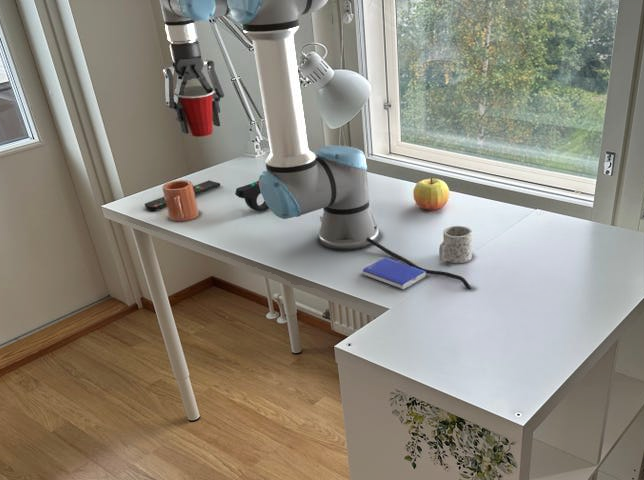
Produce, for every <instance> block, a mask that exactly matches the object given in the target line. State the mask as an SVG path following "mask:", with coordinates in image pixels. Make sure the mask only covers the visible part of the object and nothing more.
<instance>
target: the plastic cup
mask: <svg viewBox="0 0 644 480" xmlns="http://www.w3.org/2000/svg"><path fill="white" fill-rule="evenodd" d="M175 91H176V88H175V89H174V96H177V97H180V99H181V101H182V104H181V108H183V109H184V112H185V116H186V121H187V126H188V130H189V133H190V134H191V136H192V137H198V138H199V137H201V138H202V137H206V136H211V135H212V134H213V131H214V130H213V129H214V127H213V126H214V125H213V115H212V101H213V93H214V92H215V90H214V88H213V87H212V92H211V93H209V94H208V93H207V92H206V91H205V89H204V88H203V86H202V85H201V84H200V85H198V84H197V85H185V89H184V94H183V96H182V95H178V94H176V93H175Z"/></svg>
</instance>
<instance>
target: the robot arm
mask: <svg viewBox="0 0 644 480" xmlns="http://www.w3.org/2000/svg"><path fill="white" fill-rule="evenodd" d="M328 1H329V0H159V4H160V8H161V13H162V18H163V22H164V26H165V27H164V28H165V32H166V37H167V41H169V42H170V43H169V49H170V56H171V59H172V65H171V66H169V67H165V66H164V67H162V73H163V76H164V91H165V92H164V93H165V106H166V107H167V108H170V109H173V111H174V115H175V116H174V117H175V119H176V121H177V122H179V123H180V128H181V132H182V133H183V134H186V135H187V134H190V130H189V127H188V124H187V121H186V116H185V112H184V109H183V108H181V104H182V101H181V99H180V97H177V96H175V95H174V90H175V89H176V91H175V93H176V94H178V95H182V96H183V94H184V89H185V86H187V84H188V81H190V80H192V79H193V80H197V81H198V82H199V83H200V86H203V88H204V89H205V91H206V92H207V93H208V94H209V93H211V92H212V88H214V93H213V101H212V115H213V121H212V126H215V127H221V122H220V121H221V120H220V116H219V114H220V113H221V107H220V102H221V99H222V98H223V99H224V97H225V92H224V91H223V88H222V85H221V82H220V79H219V77H218V75H217V72H216V70H215V62H214V60H210V59H206V60H203V58H202V52H201V47H200V42H199V41H198V40H197V39H198V38H199V37H198V32H197V31H198V30H197V26H196V22H204V21H208V20H209V19H211V18H217V17H224V16H231V17H232V18H233V20H234V21H235V22H236V23H238V24H241V25H242V30H243V33H244V34H246V36H248V37H249V38H250V39H251V41H252V48H253V53H254V59H255V65H256V66H255V67H256V72H257V77H258V78H257V79H258V84H259V90H260V95H261V102H262V108H263V114H264V115H263V116H264V122H265V128H266V133H267V139H268V146H269V152H270V153H268V155H267V157H266V158H265V159H264V161H265V162H264V163H265V169H266V170H263V171H262V172H261V173H260V174H259V177H258V181H259V187H260V191H261V194H260V195H261V196H262V198H263V201H265V202H266V204H267V206H268V207H269V210H270V211H271V212H272V214H273V215H275V216H276V217H278V218H279V219H282V220H288V219H291V218H299V217H301V216H303V215H306V214H309V213H313V212H315V211H318V210H322V209H323V213H322V216H319V219H320V228H319V232H318V236H319V242H320V243H321V245H322V246H324V247H327V248H329V249H333V250H341V251H346V250H349V251H350V250H357V249H362V248H365V247H368V246H371V245H373V246H375V247H377V248H378V249H380V250H381V251H382V252H384V253H386V254H388V255H390V256H391V257H393V258H395V259H396V260H399V261H401V262H403V263H404V264H406V265H409V266H411V267H414V268H417V269H420V270H423V271H426V275H435V276H444V277H448V278H452V279H455V280H459V281H460V282H461V283H462V284H463V285H464V286H465V288H466V290H472V287H471V285H470V284H469V283H468V281H467V280H466V278H464V277H463V276H461V275H458V274H455V273H451V272H448V271H441V270H432V269H426V268H423V267H420V266H419V265H416V264H415V263H414V262H413V261H411V260H409V259H407V258H405V257H403V256H401V255H399V254H397V253H395V252H394V251H391V250H390V249H389V248H386V247H385V246H383V245H382V244H380V243H379V242H377V241H378V240H379V237H380V233H379V230H380V229H379V226H378V223H377V222H376V219H375V217H374V214H373V212H372V210H371V207H370V195H369V182H368V166H367V160H366V155H365V153H364V152H363V151H362V150H361V149H359V148H357V147H354V146H348V145H325V146H321V147H319V148H317V150H316V152H313V151H311V150H310V148H309V145H308V138H307V129H306V122H305V116H304V115H305V114H304V107H303V100H302V93H301V86H300V85H301V84H300V78H299V77H300V76H299V71H298V70H299V69H298V61H297V55H296V48H295V39H294V36H295V34H296V32H297V31H298V29H299V28H300V23H299V16H302V15H308V14H312V13H315V12H317V11H319V10H320V9H322V8H323V7H324V6H325V5H327V3H328ZM203 69H206V72H207V75H208V77H209V80H210V82H211V83H209V81H208V80H207V78H206V75H204V73H203ZM174 72H175V73H176V74H177V76H176V77H177V78H176V86H175V89H174ZM211 85H212V86H211Z"/></svg>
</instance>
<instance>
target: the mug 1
mask: <svg viewBox="0 0 644 480" xmlns="http://www.w3.org/2000/svg"><path fill="white" fill-rule="evenodd" d="M193 186H194V184H193V182H192V181H190V180H187V179H186V180H183V179H182V180H181V179H180V180H173V181H169V182H166V183H164V184H163V185H162V186H161V188H162V195H163V197H164V198H165V202H166V206H165V207H166V209H167V210H166V211H167V214H168V216H169V219H170V220H171V221H173V222H188V221H191V220H193V219H196V218H197V217H199V208H198V202H197V198H196V195H195V193H194V189H193Z"/></svg>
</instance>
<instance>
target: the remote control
mask: <svg viewBox="0 0 644 480" xmlns="http://www.w3.org/2000/svg"><path fill="white" fill-rule="evenodd" d="M219 187H221V183H220V182H216V181H213V180H206V181H204V182H203V181H202V182H200V183H198V184H195V185H193V189H194V193H195V196H197V195H199V194H202V193H205V192H207V191H210V190H213V189H216V188H219ZM144 207H145V209H146V210H147V211H149V212H153V211H156V210H159V209H162V208H164V207H167V206H166V202H165V198H164V196H162V197H159V198H156V199H154V200H151V201H148V202H145V203H144Z"/></svg>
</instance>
